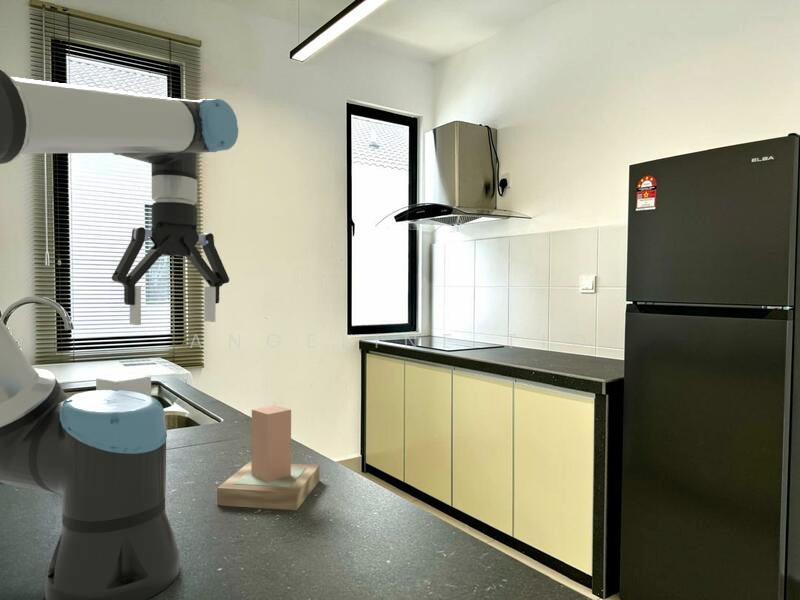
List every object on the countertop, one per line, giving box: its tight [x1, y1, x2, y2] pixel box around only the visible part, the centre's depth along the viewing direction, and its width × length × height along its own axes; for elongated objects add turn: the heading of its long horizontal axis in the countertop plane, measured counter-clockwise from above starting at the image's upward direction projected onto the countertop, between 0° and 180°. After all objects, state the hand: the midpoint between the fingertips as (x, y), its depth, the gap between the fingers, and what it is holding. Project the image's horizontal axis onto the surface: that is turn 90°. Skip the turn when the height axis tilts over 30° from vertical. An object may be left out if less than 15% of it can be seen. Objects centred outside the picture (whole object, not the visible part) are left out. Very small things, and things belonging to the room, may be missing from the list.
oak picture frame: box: [216, 460, 321, 511], centre depth 99 cm, size 14×14×3 cm
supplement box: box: [95, 373, 152, 397], centre depth 132 cm, size 9×9×15 cm
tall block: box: [251, 404, 292, 482], centre depth 99 cm, size 5×5×12 cm
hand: (174, 323), depth 98 cm, fingers open, 13 cm apart
